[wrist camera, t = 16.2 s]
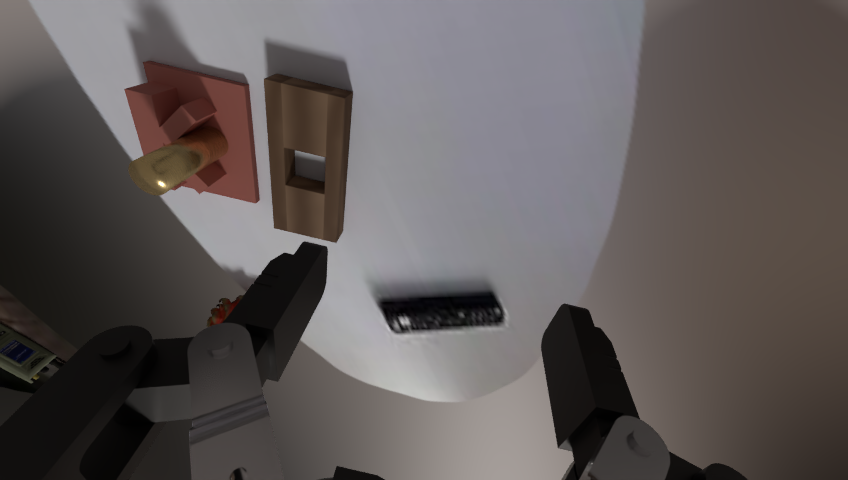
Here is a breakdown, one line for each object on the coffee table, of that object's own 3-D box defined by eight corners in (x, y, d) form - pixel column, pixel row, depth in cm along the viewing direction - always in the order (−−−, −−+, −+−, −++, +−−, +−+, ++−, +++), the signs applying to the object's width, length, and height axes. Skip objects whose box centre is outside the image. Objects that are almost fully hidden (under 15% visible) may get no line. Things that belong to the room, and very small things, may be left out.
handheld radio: (-30, 303, 78) (81, 367, 88) (-33, 307, 79) (76, 370, 89) (-69, 327, 72) (54, 392, 82) (-71, 331, 74) (50, 395, 84)
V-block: (248, 84, 42) (224, 94, 38) (259, 200, 51) (240, 218, 47) (149, 60, 42) (114, 68, 38) (178, 180, 51) (152, 197, 47)
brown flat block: (352, 91, 41) (344, 98, 39) (342, 231, 53) (336, 242, 50) (276, 73, 41) (263, 78, 38) (283, 217, 53) (274, 228, 50)
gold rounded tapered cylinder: (194, 142, 46) (125, 179, 37) (203, 119, 44) (132, 152, 35) (222, 162, 47) (162, 202, 38) (232, 140, 45) (171, 176, 36)
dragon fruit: (223, 298, 68) (281, 286, 66) (230, 343, 67) (289, 331, 66) (188, 304, 59) (254, 291, 58) (196, 355, 59) (263, 343, 57)
